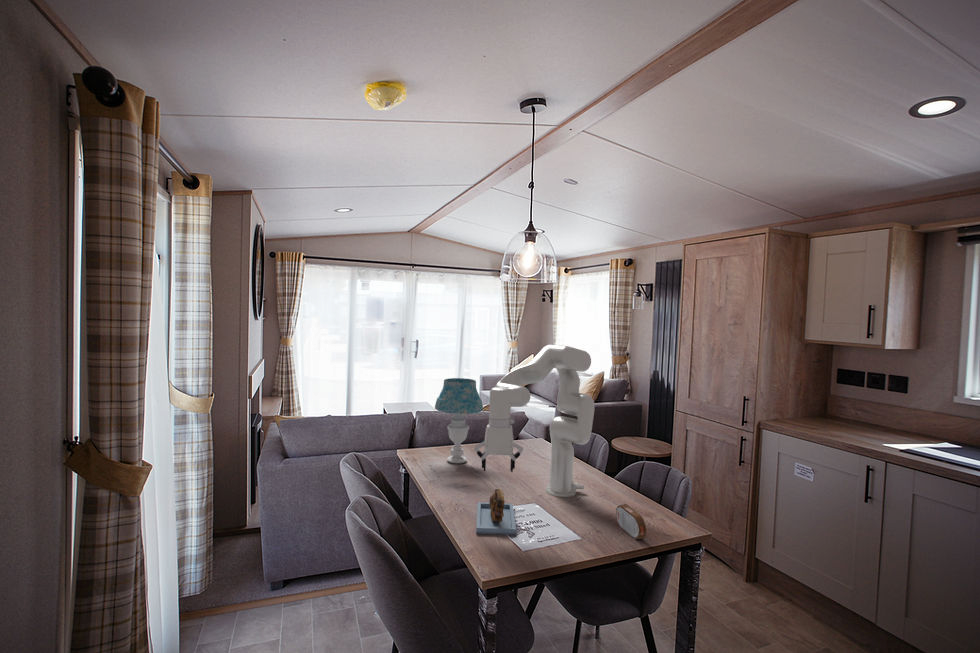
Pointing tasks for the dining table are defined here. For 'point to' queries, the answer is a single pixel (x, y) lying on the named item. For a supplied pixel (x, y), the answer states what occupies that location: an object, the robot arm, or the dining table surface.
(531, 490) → the dining table surface
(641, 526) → the tin
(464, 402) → the table lamp
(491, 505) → the wooden carving
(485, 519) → the tray
